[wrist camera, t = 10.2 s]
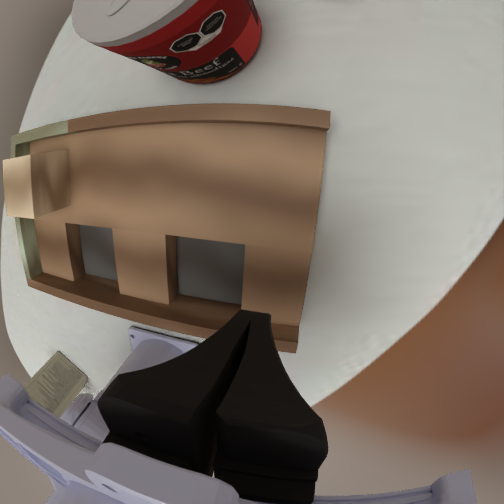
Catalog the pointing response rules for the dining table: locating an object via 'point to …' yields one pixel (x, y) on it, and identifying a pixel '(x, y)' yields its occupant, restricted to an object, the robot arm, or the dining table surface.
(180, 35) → the canned food
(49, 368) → the skincare box
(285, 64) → the dining table surface
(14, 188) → the maple block
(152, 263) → the walnut tray
